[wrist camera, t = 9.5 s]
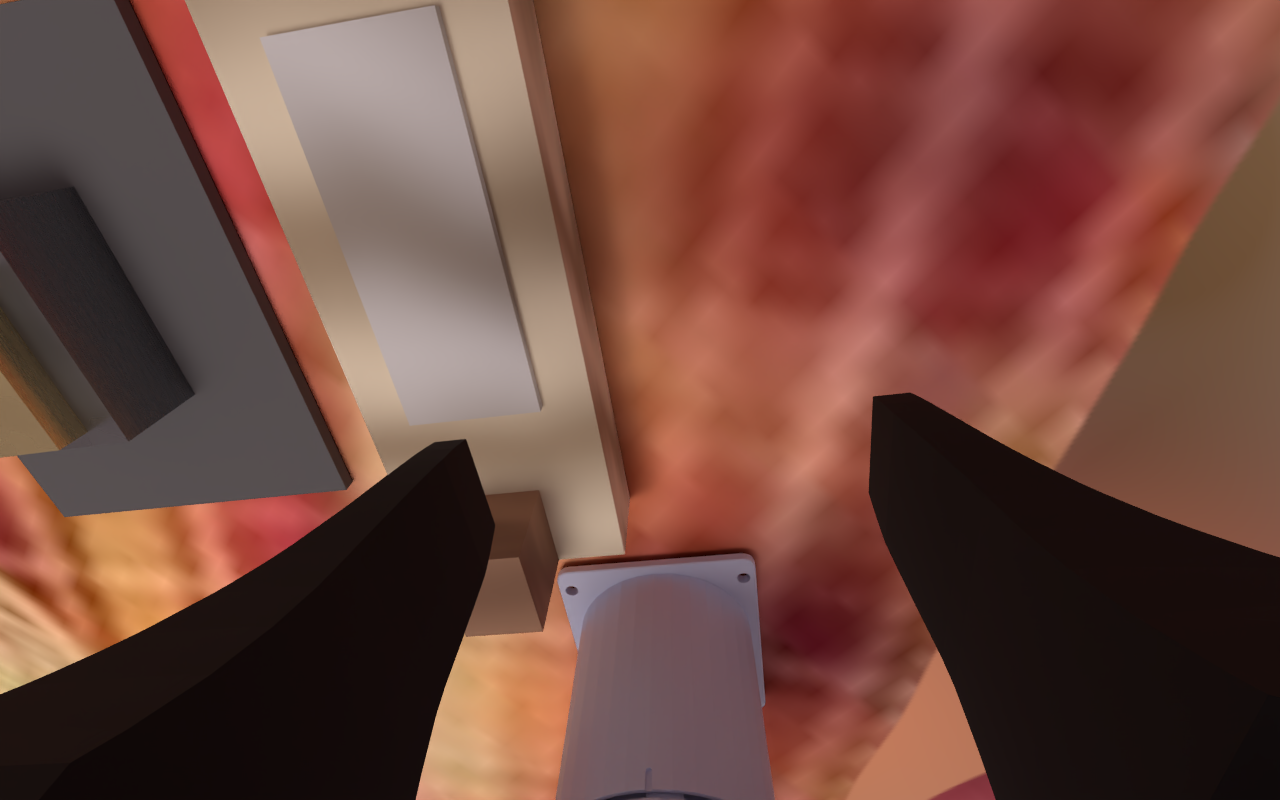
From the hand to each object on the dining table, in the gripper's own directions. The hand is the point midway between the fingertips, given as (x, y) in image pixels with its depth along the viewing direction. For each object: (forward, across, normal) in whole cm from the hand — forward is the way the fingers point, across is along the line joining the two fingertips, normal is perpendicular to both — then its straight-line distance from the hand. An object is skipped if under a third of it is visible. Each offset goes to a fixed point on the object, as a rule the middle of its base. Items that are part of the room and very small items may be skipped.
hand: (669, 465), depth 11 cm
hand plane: (+9, +6, -3) cm, 12 cm away
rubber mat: (+9, +19, -2) cm, 21 cm away
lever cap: (+9, +19, -2) cm, 21 cm away
